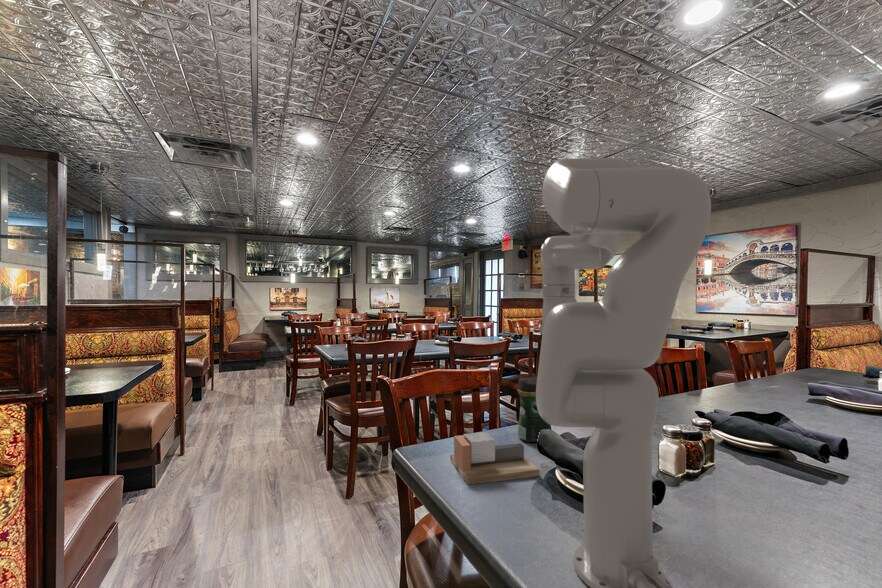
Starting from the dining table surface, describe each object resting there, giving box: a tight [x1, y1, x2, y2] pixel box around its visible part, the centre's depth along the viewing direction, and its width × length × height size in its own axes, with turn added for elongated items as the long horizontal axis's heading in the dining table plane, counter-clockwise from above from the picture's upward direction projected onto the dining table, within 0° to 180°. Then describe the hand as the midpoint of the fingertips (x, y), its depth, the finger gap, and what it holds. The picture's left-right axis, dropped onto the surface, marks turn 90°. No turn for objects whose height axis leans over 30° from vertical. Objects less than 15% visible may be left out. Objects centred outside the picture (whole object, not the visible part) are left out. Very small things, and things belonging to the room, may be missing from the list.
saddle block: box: [463, 431, 496, 464], centre depth 95 cm, size 6×6×5 cm
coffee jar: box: [517, 376, 552, 443], centre depth 117 cm, size 10×8×19 cm
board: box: [449, 454, 540, 486], centre depth 96 cm, size 14×18×2 cm
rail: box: [471, 443, 525, 466], centre depth 96 cm, size 2×15×4 cm, turn 105°
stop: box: [453, 435, 471, 472], centre depth 94 cm, size 7×2×6 cm, turn 14°
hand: (559, 364), depth 93 cm, fingers open, 9 cm apart
